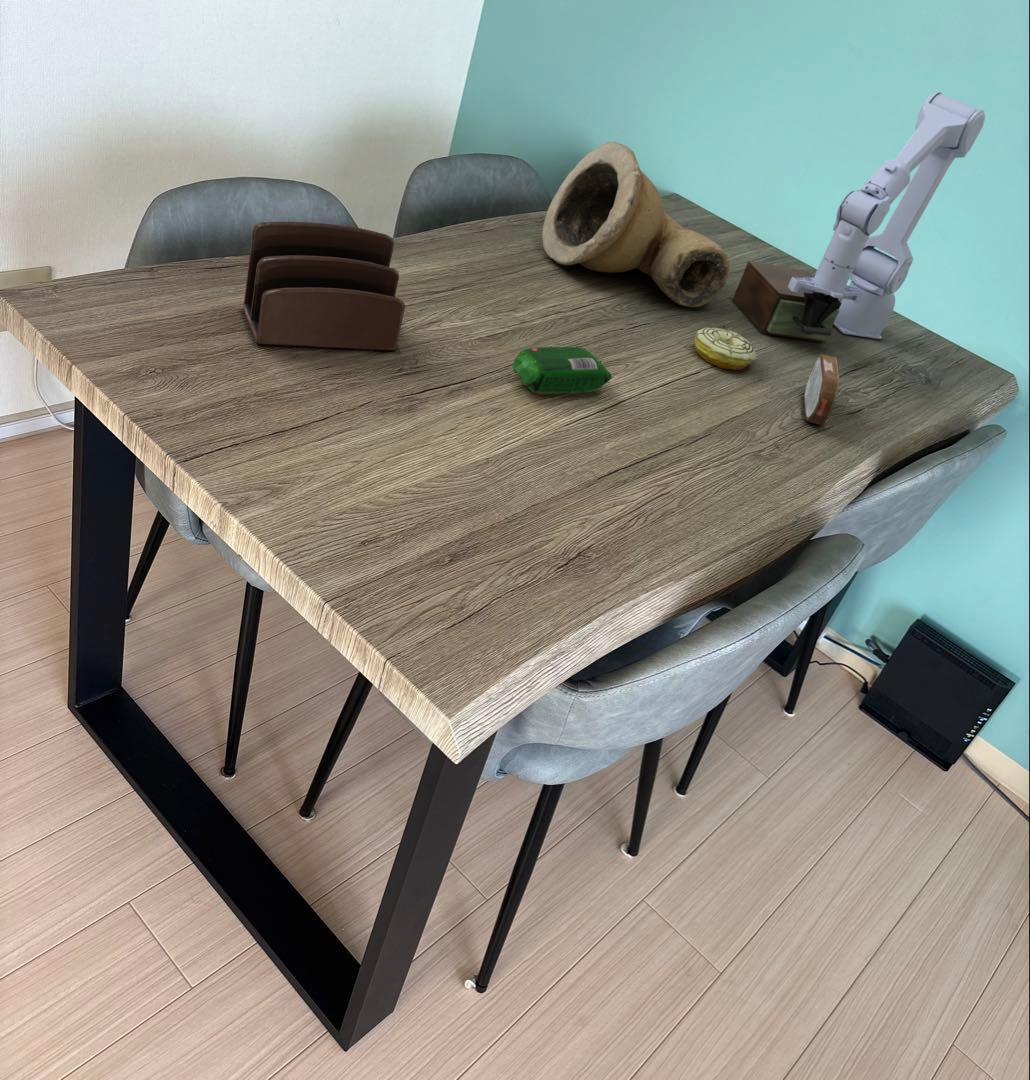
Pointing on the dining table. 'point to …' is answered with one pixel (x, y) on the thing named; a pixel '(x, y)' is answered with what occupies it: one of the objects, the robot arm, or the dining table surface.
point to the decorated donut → (724, 348)
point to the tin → (821, 389)
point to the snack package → (560, 370)
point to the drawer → (798, 321)
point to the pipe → (629, 229)
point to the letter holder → (322, 287)
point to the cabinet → (767, 293)
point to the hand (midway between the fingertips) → (806, 331)
